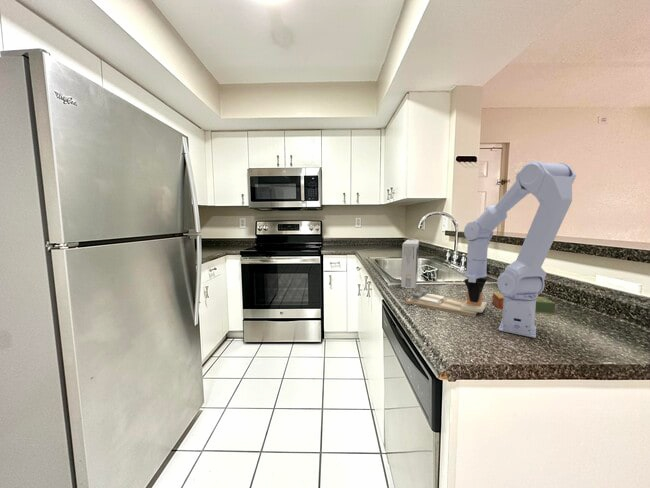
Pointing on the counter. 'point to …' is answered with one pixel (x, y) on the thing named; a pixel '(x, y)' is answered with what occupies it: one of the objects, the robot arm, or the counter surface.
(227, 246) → the counter surface
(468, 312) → the board
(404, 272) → the packaging
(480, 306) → the tan block on base
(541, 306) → the carton
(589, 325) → the counter surface
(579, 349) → the counter surface
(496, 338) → the counter surface
